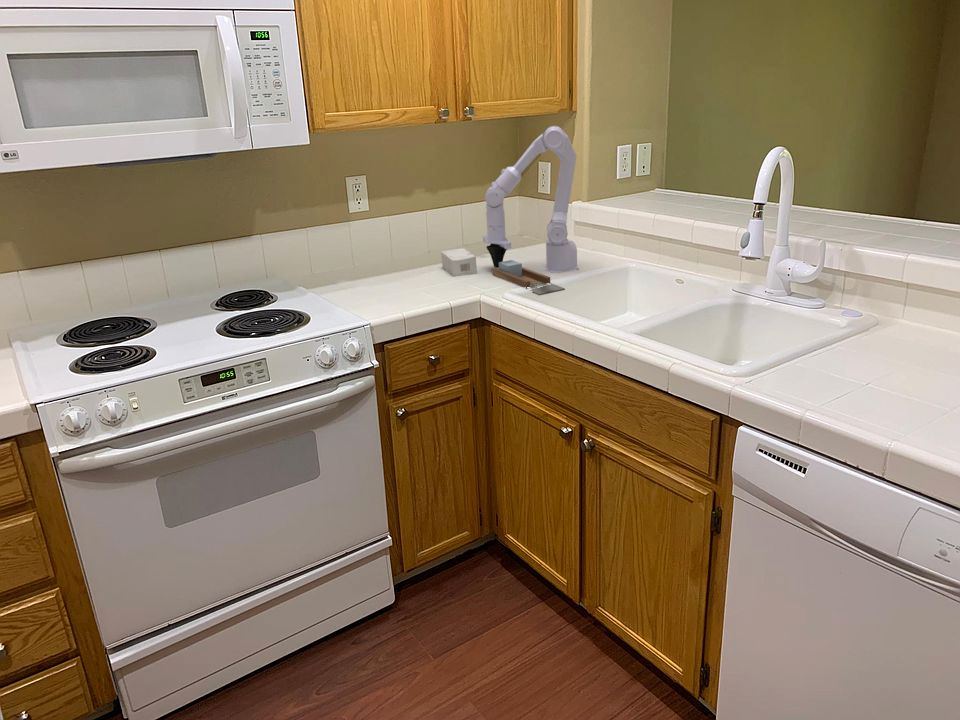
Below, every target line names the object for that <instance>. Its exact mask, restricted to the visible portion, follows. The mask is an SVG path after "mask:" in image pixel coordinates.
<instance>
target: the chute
mask: <svg viewBox="0 0 960 720" xmlns="http://www.w3.org/2000/svg"><path fill="white" fill-rule="evenodd" d="M492 276H493V277H495V278H499V279H501V280H504V281H506V282H509V283H511V284H514V285H516V286H519V287H522V288H524V287H526V288H525V289H527V287H530V285H533V284H539V283H544V284H545V283H550V284H551V285H547V286H543V287H540V288H537V287H536V288H535V287H534V288H535V289H532V290H529V291H530V292H531V293H533V294H535V295H537V296H543V295H547V294H551V293H556V292H560V291H565V290H566V288H565V287H562V286H560V285H556V284H553V283H551V276H549V275H548V276H547V275H545V274H542V273H539V272H536V271H533V270H531V269H528V268H527V267H526V268H525V267H523V266H522V276H519V277H517V276H514V275H512V274H509V273H506V272H504V271H501V270H499V268H492ZM533 286H534V285H533Z"/></svg>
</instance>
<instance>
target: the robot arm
mask: <svg viewBox="0 0 960 720" xmlns="http://www.w3.org/2000/svg"><path fill="white" fill-rule="evenodd" d="M548 150H550V151H551V152H554V153H555V155H556V156H557V158H558V159H559V160H560V165H559V170H558V178H557V183H556V190H555V197H554V204H553V211H552V214H551V215H552V216H551V220H550V221H549V223H548V224H547V230H546V231H547V232H546V233H547V235H546V236H547V240H546V241H545V251H546V252H545V255H546V257H545V258H546V261H545V262H546V266H543V267H541V270H544V271H548V272H550V273H552V274H558V273H562V272H568V271H569V272H570V271H573V270H579V267H578V249H577V245H576V243H575V242H574V241H573V240H569V239H568V235H569V234H568V226H567V222H568V221H567V220H568V211H569V206H570V200H571V193H572V187H573V186H572V185H573V181H574V174H575V167H576V162H577V154H576V151H575V149H574V146H573V144H572V143H571V140H570V138H569V136H568V134H567V133H566V132H565V131H564V130H563V128H561V127H560V126H557V125H552V126H549V127H547V128H546V130H545V131H544V132H543V133H541V134H540V135H539V136H538V137H537V138H536V139H535V140H533V142H532V143H531V144H530V145H529V147H528V148H527V149H526V150H525V151H524V153H523V154H522V156H521V157H519V159H518V160H517V161H516V163H515V164H514V165H513V166H507V167H506V168H502V169H501V171H500V173H501V174H499V176H498V178H496V179H495V181H492V182H491V183H490V184H491V186H490V187H489V188H488V189H487V190H486V192H485V195H484V200H485V202H486V206H485V208H486V213H485V214H486V215H485V216H486V231H487V234H486V235H482V241H483V243H485V244H489V245H487V246H486V250H487V251H488V253H489V256H490V258H491V261H492V264H493V268H494V269H499V262H504V257H505V254H506V253H507V250H509V249H512V241H509V240H508V239H507V238H506V220H505V215H506V214H505V209H504V201H505V200H504V199H505V197H506V196H508V195H509V194H510V193H511V192H512V191H513V189H514V188H515V187H516V186H517V185H518V184H519V183H520V182H521V180H522V173H523V172H524V170H525V169H526V168H527V167H528V166H529V165H530V164H531V163H532V162H533V160H534V159H536V157H537V156H538V155H540V154H543V153H545V152H547V151H548Z"/></svg>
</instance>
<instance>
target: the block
mask: <svg viewBox="0 0 960 720" xmlns="http://www.w3.org/2000/svg"><path fill="white" fill-rule="evenodd" d="M522 267H523V263H521V262H518V261H515V260H512V259H510V260H505V261H504V260H503V262H499V268H498V270H501V271H504V272H506V273H509V274H512V275H514V276H517V277H519V276H522Z"/></svg>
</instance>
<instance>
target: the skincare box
mask: <svg viewBox="0 0 960 720" xmlns="http://www.w3.org/2000/svg"><path fill="white" fill-rule="evenodd" d="M440 253H441V267H442V269H444V270H445V271H447V272H448V273H449V274H450V275H451V276H453V277H460V276H466V275H474V274H478V266H477V258H476V257H477V256H476V255H474V254H473V253H471V252H470V251H469V250H467V249H465V248H464V247H463V248H462V247H461V248H454V249H448V250H447V249H446V250H442V251H441V252H440Z"/></svg>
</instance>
